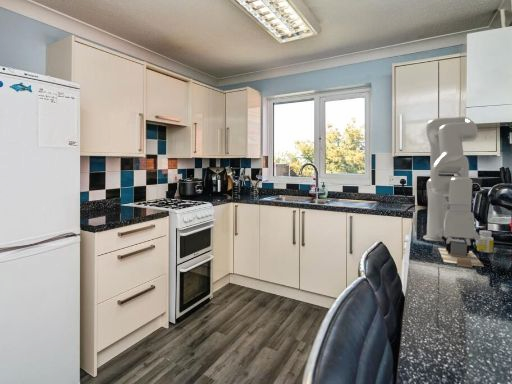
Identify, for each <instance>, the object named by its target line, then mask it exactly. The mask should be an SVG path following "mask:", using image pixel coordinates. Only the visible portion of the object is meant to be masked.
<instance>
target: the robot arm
mask: <svg viewBox="0 0 512 384" xmlns="http://www.w3.org/2000/svg"><path fill="white" fill-rule="evenodd" d="M425 129H426V131H425V132H426V137H427V139H428V142H429V147H430V159H429V160H430V172H429V173H430V174H429V176H430V178H429V179H428V180H427V181H426V190H427V191H426V193H427V219H426V220H427V221H426V222H427V223H426V234H425V235H423V237H422V238H423V239H424V240H425V241H435V242H445V249H446V251H448V254H450V251H451V244H450V240H451V239H453V238H454V239H455V238H456V239H457V238H458V239H464V241H465V242H466V244H467V255H468V253H469V251H471V250H470V247H471V245H472V244H474V243H475V242H477V240H478V239H480V238H481V237H480V233H479V232H477V231H476V229H475V228H476V226H475V225H476V224H475V214H474V213H473V212H472V195H473V180H472V178H470V176H469V175H470V174H469V173H470V163H469V159H468V157H467V156H466V155H464V149H463V143H464V142H465V143H466V142H467V143H469V142H474V141H476V139H477V137H478V134H479V133H478V127H477V124H476V123H475V122H474V121H473V120H472V119H470V118H469V117H466V116H458V117H456V116H455V117H439V118H433V119H431V120H429V121H428V122H427V123H426V128H425ZM440 175H445V176H440ZM446 175H449V176H446ZM452 175H455V176H452ZM445 197H448V200H447V199H446V198H445Z"/></svg>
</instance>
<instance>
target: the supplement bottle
mask: <svg viewBox="0 0 512 384" xmlns="http://www.w3.org/2000/svg"><path fill="white" fill-rule="evenodd" d="M478 234H479V235H480V237H481V238H480V239H478V240H476V250H477V252H479V253H480V252H481V253H489V254H491V253H493V252H494V237H492V231H490V230H483V229H482V230H480V229H479V232H478Z"/></svg>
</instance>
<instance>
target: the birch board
mask: <svg viewBox="0 0 512 384" xmlns="http://www.w3.org/2000/svg"><path fill="white" fill-rule="evenodd" d="M437 249H438V251H439V253H440V256H441V258H442V261H443V262H444V263H450V264H457V258H462V259H471V263H472V266H476V267H485V266H484V264H483V263H482V261H481V260H479V258H478V257H477V256H476V254H475V253H474V252H473V251H472V250H469V253H468V255H467V257H460V256H451V254H448V251H446V248H444V247H443V248H441V247H438V248H437Z"/></svg>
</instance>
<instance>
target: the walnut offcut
mask: <svg viewBox="0 0 512 384" xmlns="http://www.w3.org/2000/svg"><path fill="white" fill-rule="evenodd" d="M456 264H457V267H459V268H470V269H473V265H472V263H471V259H462V258H457V263H456Z"/></svg>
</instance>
